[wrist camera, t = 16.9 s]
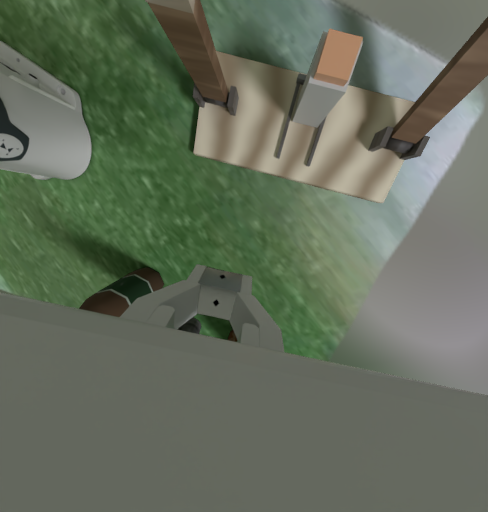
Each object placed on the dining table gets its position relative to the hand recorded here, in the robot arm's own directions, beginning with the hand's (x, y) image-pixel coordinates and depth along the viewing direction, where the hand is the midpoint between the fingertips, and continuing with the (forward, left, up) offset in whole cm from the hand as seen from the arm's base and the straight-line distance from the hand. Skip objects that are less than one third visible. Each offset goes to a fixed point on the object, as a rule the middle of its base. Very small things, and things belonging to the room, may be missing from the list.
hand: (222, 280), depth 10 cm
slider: (-5, +19, -25) cm, 32 cm away
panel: (-4, +16, -27) cm, 31 cm away
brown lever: (-17, +10, -24) cm, 31 cm away
